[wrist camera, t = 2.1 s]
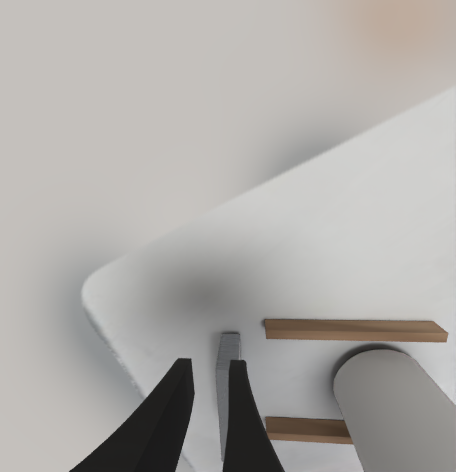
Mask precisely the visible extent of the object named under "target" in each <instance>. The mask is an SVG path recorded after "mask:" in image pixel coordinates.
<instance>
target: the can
mask: <svg viewBox="0 0 456 472" xmlns="http://www.w3.org/2000/svg"><path fill="white" fill-rule="evenodd" d="M333 392H334V394H335V397H336V400H337V402H338V405H339V407H340V410H341V413H342V415H343V418H344V421H345V423H346V426H347V428H348V431H349V434H350V436H351V439H352V441H353V444H354V447H355V449H356V452H357V454H358V457H359V460H360V462H361V465H362V467H363V470H364V472H456V405H455V404H454V403H453V402H452V401H451V400H450V399H449V397H448V396H447V395H446V394H445V393H444V392H443V391H442V390H441V388H440V387H439V386H438V385H437V384H436V383H435V382H434V381H433V379H432V378H431V377H430V376H429V375H428V374H427V373H426V372H425V370H424V369H423V368H422V367H421V366H420V365H419V364H418V362H417V361H416V360H414V359H413V358H411V357H409V356H408V355H406V354H404V353H401V352H397V351H393V350H369V351H365V352H361V353H359V354H357V355H355V356H353V357H352V358H350V359H349V360H348V361H347V362H346V363H345V364H344V365H343V366H342V367H341V368H340V369H339V370H338V372H337V375H336V377H335V379H334V389H333Z"/></svg>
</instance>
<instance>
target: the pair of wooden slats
mask: <svg viewBox="0 0 456 472" xmlns="http://www.w3.org/2000/svg"><path fill="white" fill-rule="evenodd" d="M265 331H266V339H298V340H349V341H400V342H446V341H447V337H448V333H447V332H446V331H445V330H444V329H442V328H441V327H440V326H439V325H437V324H436V323H435V322H434V321H364V320H280V319H265ZM266 433H267V435H268V438H269V440H285V441H302V442H319V443H336V444H353V441H352V439H351V436H350V434H349V431H348V428H347V426H346V423H345V421H340V420H320V419H300V418H280V417H266ZM353 445H354V444H353Z"/></svg>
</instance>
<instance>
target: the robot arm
mask: <svg viewBox="0 0 456 472" xmlns="http://www.w3.org/2000/svg"><path fill="white" fill-rule="evenodd" d="M194 395H195V392H194V382H193V372H192V362H191V359H187V358H178V359H177V360H176V362H175V363H174V364H173V366H172V367H171V368H170V369H169V371H168V372H167V373H166V375H165V376H164V377H163V378H162V380H161V381H160V382H159V384H158V385H157V386H156V387H155V388H154V390H153V391H152V392H151V393H150V394H149V396H148V397H147V398H146V399H145V400H144V401H143V402H142V404H141V405H140V406H139V407H138V408H137V409H136V410H135V411H134V412H133V413H132V415H131V416H130V417H129V418H128V419H127V420H126V421H125V422H124V423H123V424H122V425H121V426H120V427H119V428H118V429H117V430H116V431H115V432H114V433H113V434H112V435H111V436H110V437H109V438H108V439H107V440H105V441H104V442H103V443H102V444H101V445H100V446H99V447H98V448H97V449H95V450H94V451H93V452H92V453H91V454H90V455H89V456H87V457H86V458H85V459H84V460H83V461H82V462H81V463H79V464H78V465H77V466H75V467H74V468H73V469H72V470H70V471H69V472H175V470H176V467H177V463H178V460H179V456H180V453H181V450H182V446H183V443H184V439H185V435H186V432H187V428H188V425H189V421H190V417H191V412H192V406H193V400H194ZM223 472H285V471H284V469H283V467H282V465H281V463H280V461H279V459H278V457H277V455H276V453H275V451H274V449H273V446H272V444H271V442H270V440H269V438H268V435H267V433H266V430H265V428H264V426H263V423H262V420H261V418H260V415H259V412H258V410H257V407H256V404H255V401H254V397H253V394H252V391H251V387H250V383H249V379H248V374H247V367H246V362H245V361H244V360H231V361H230V366H229V380H228V430H227V439H226V447H225V456H224V464H223Z"/></svg>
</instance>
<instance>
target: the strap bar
mask: <svg viewBox="0 0 456 472" xmlns="http://www.w3.org/2000/svg"><path fill="white" fill-rule="evenodd" d="M231 360H241V350H240V334H222V335H221V341H220V347H219V353H218V358H217V364H216V384H217V398H218V413H219V427H220V442H221V456H222V461H223V462H224V456H225V447H226V439H227V430H228V380H229V366H230V361H231Z"/></svg>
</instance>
